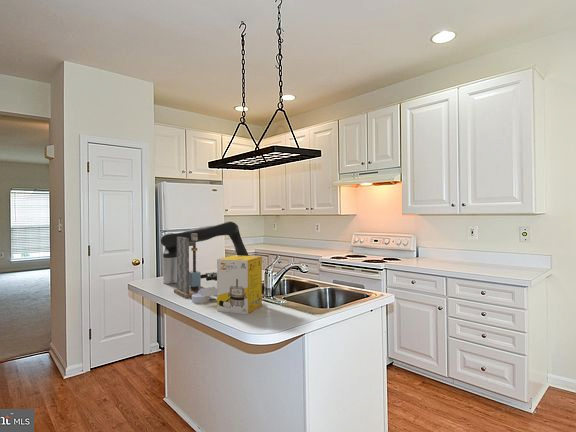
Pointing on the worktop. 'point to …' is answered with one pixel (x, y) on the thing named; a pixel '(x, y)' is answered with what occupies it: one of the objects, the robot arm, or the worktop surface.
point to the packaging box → (239, 284)
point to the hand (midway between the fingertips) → (203, 277)
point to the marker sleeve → (194, 278)
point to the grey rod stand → (185, 266)
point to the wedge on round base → (203, 295)
